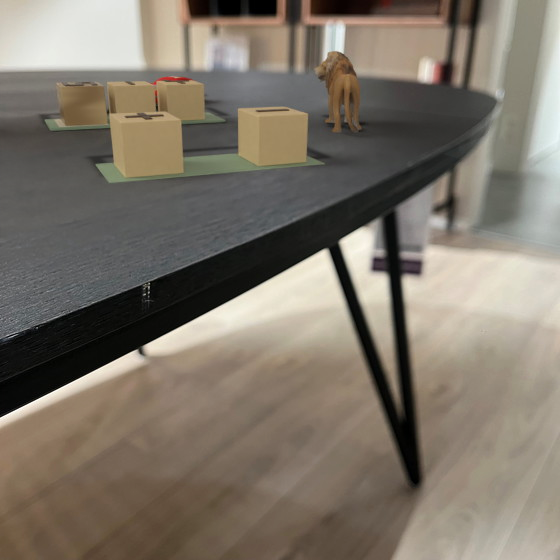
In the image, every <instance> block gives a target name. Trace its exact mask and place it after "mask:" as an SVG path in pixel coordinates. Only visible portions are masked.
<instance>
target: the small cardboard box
mask: <svg viewBox="0 0 560 560" xmlns="http://www.w3.org/2000/svg"><path fill="white" fill-rule="evenodd" d="M55 87H56V94H57V102H58V108H59V116H60V118H59V119H61V120H62V122H63V123H64V124H65V125H66V126H74V125H94V124H108V121H107V117H108V111H107V103H106V91H105V86H104V84H102V83H100V82H98V81H71V82H70V81H69V82H68V81H67V82H66V81H63V82H55Z"/></svg>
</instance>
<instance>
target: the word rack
mask: <svg viewBox="0 0 560 560" xmlns="http://www.w3.org/2000/svg"><path fill="white" fill-rule="evenodd" d="M193 80H194V79H192V80H175V81H157V80H156V81H157V97H158V105H157V106H156V103H155V87H154V85H152V84H150V83H151V82H147V81H145V80H141V81H128V80H126V81H125V80H124V81H106V91H107V102H108V112H109V114H115V113H139V112H163V111H165V112H167V113H169V114H171V115H173V116H175V117H177V118H178V119H180V120H181V125H194V124H195V125H196V124H215V123H226V119H225V118H222V117H220V116H218V115H216V114H213V113H211V112H206V108H205V107H206V106H205V105H206V104H205V84H204V83H202V82H199V81H196V80H194V81H193ZM157 110H158V111H157ZM107 121H108V124H94V125H74V126H66V125H65V124H64V123H63V122H62V120H61V118H49V119H46V118H45V119H44V123H45V124H46V126H47V128H48V129H49V131H50V132H57V131H58V132H59V131H78V130H79V131H80V130H97V129H98V130H100V129H111V127H110V117H109V116H107Z"/></svg>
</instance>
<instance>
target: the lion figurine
mask: <svg viewBox="0 0 560 560" xmlns="http://www.w3.org/2000/svg"><path fill="white" fill-rule="evenodd" d="M313 71H314V72H315V73H314V74H315V75H316V77H317V80H318V82H320V83H322V82H325V84H324V85H325V88H326V91H327V93H328V110H329V111H328V113H329V117H328V118H326V119H325V121H324V122H325V123H326V124H334V127H333V128H332V129H331V132H332V133H337V134H339V133H340V134H341V133H342V115H341V108H342V105H343V106H344V117H343V121H344V123H346V124H348V126H349V129H350V131H351V132H353V133H354V134H357V133H359V131H362V129H363V128H362V126H361V125H360V122H359V121H360V119H359V111H360V105H361V86H360V83H359V79H358V75H357V72H356V70H355V68H354V65H353V64H352V62H351V60H350V59H349V57H347V56H346V55H345V53H342V52H341V51H338V50H332V51H328V52H327V56H326V59H325V60H324V61H322V62H321V64H319V65H317V66H316V67H314V69H313Z"/></svg>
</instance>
